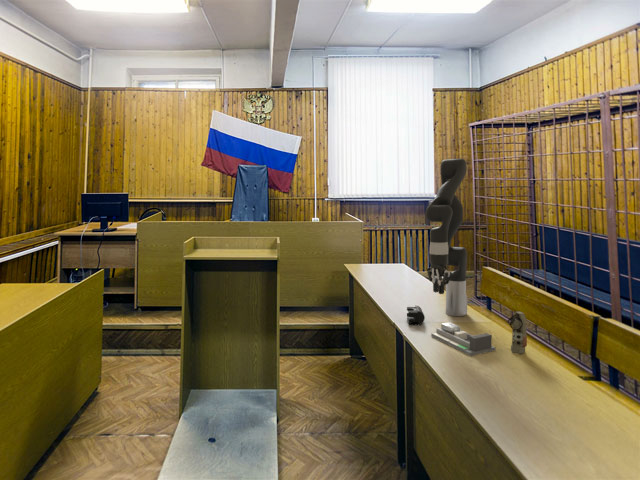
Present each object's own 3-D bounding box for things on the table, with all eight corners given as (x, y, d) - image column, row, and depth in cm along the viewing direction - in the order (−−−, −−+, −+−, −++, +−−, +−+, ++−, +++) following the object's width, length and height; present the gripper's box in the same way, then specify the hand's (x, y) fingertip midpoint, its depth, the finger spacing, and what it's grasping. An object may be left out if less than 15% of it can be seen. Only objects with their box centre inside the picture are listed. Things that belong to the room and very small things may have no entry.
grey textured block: (449, 331, 155) (449, 322, 155) (462, 337, 148) (462, 327, 148) (441, 332, 154) (441, 323, 153) (453, 338, 147) (453, 329, 146)
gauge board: (454, 331, 158) (454, 317, 158) (495, 350, 138) (496, 334, 137) (431, 336, 154) (431, 321, 153) (470, 356, 134) (470, 339, 133)
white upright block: (463, 337, 148) (463, 330, 148) (466, 339, 146) (467, 332, 146) (454, 339, 146) (454, 332, 146) (458, 341, 145) (458, 334, 144)
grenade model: (502, 350, 138) (503, 311, 136) (520, 349, 138) (521, 310, 137) (513, 357, 131) (514, 316, 130) (531, 356, 132) (533, 315, 131)
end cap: (424, 326, 167) (424, 311, 166) (408, 325, 168) (408, 311, 167) (421, 319, 177) (421, 305, 176) (406, 318, 178) (406, 305, 177)
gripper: (457, 254, 150) (457, 295, 152) (435, 250, 163) (435, 288, 165) (442, 255, 148) (442, 297, 149) (421, 251, 161) (421, 290, 162)
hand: (438, 292), depth 157 cm, fingers open, 3 cm apart
